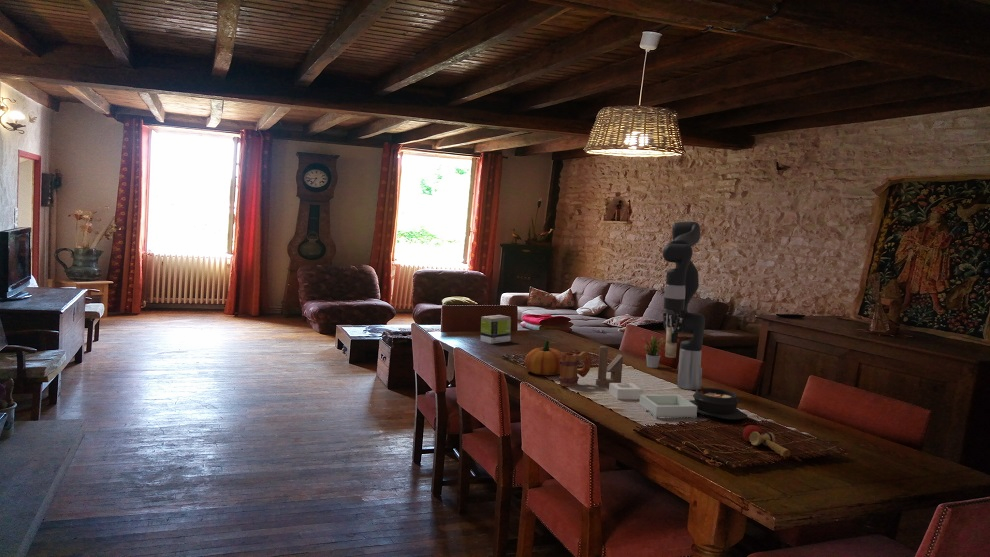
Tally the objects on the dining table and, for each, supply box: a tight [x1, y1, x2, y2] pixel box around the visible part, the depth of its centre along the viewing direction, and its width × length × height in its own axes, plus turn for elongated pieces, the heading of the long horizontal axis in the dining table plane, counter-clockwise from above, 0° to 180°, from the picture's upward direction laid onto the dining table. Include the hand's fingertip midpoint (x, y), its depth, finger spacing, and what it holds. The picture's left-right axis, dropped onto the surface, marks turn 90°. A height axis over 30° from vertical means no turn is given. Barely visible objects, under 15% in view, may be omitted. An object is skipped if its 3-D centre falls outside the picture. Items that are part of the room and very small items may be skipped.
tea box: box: [480, 314, 512, 345], centre depth 375 cm, size 15×10×15 cm, turn 130°
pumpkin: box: [524, 340, 563, 376], centre depth 302 cm, size 19×19×15 cm
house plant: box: [642, 334, 666, 369], centre depth 325 cm, size 14×14×16 cm
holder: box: [608, 382, 642, 400], centre depth 264 cm, size 10×10×5 cm
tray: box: [639, 394, 698, 419], centre depth 247 cm, size 16×16×4 cm
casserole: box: [688, 387, 748, 421], centre depth 247 cm, size 25×19×8 cm
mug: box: [557, 350, 592, 388], centre depth 280 cm, size 15×8×15 cm, turn 105°
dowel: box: [664, 327, 678, 359], centre depth 245 cm, size 4×4×11 cm
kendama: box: [742, 424, 791, 458], centre depth 211 cm, size 8×6×18 cm
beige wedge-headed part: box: [595, 345, 624, 388], centre depth 280 cm, size 4×11×18 cm, turn 111°
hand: (671, 341), depth 245 cm, fingers closed on dowel, 4 cm apart
